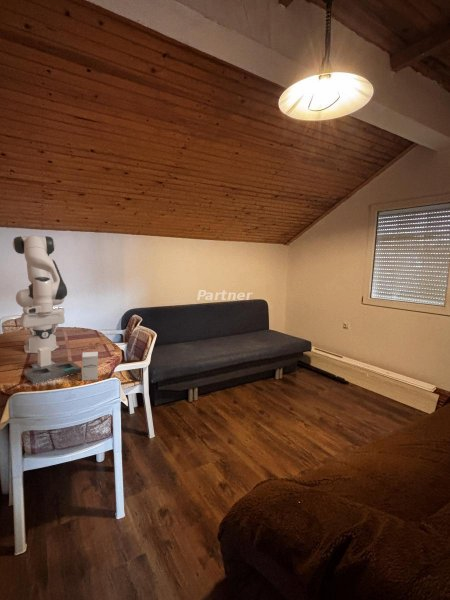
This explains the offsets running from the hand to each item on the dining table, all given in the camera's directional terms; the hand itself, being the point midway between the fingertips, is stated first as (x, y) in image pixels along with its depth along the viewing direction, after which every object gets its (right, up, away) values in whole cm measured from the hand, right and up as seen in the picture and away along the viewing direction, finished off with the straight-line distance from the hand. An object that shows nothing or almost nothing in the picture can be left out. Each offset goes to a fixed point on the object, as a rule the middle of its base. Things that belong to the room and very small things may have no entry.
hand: (43, 333), depth 159 cm
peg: (-1, -17, +2) cm, 17 cm away
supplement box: (+28, -22, -8) cm, 36 cm away
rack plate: (+9, -20, -7) cm, 23 cm away
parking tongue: (-1, -18, +3) cm, 19 cm away
